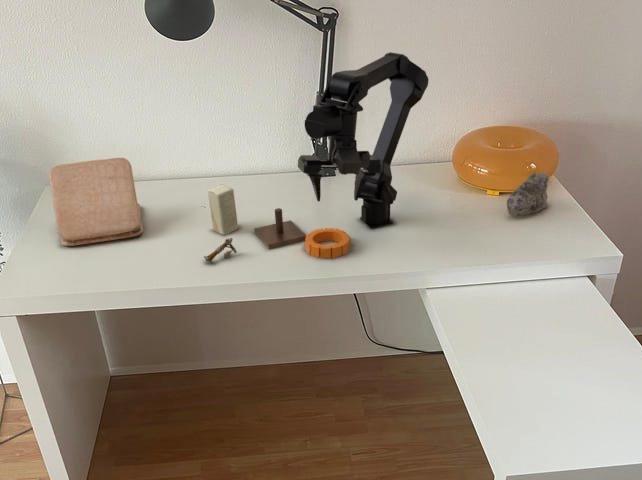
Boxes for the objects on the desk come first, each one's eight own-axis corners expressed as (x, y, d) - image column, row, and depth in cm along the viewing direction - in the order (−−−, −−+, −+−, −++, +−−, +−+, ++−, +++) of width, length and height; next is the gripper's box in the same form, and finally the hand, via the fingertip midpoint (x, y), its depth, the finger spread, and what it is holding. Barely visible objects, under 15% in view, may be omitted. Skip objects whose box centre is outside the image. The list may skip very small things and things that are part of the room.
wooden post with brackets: (241, 250, 182) (232, 237, 179) (215, 271, 181) (206, 258, 178) (237, 247, 183) (228, 234, 180) (212, 268, 182) (203, 255, 179)
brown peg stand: (291, 224, 195) (289, 198, 191) (306, 240, 187) (305, 213, 183) (254, 232, 192) (252, 206, 187) (268, 249, 184) (266, 222, 180)
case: (60, 250, 187) (44, 189, 178) (63, 214, 204) (48, 157, 194) (144, 239, 191) (132, 178, 181) (140, 205, 207) (129, 148, 198)
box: (228, 223, 196) (223, 183, 190) (238, 228, 194) (234, 188, 187) (212, 230, 193) (206, 189, 187) (222, 235, 191) (217, 194, 184)
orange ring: (338, 234, 189) (337, 224, 188) (357, 252, 182) (357, 242, 180) (299, 243, 186) (298, 233, 185) (316, 262, 178) (316, 252, 177)
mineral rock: (507, 221, 192) (512, 183, 186) (493, 203, 201) (497, 167, 195) (556, 216, 194) (562, 179, 188) (540, 199, 202) (545, 162, 196)
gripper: (312, 141, 161) (308, 212, 169) (394, 141, 166) (386, 210, 174) (299, 129, 170) (295, 197, 178) (376, 130, 176) (370, 195, 183)
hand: (337, 200), depth 178 cm, fingers open, 9 cm apart
